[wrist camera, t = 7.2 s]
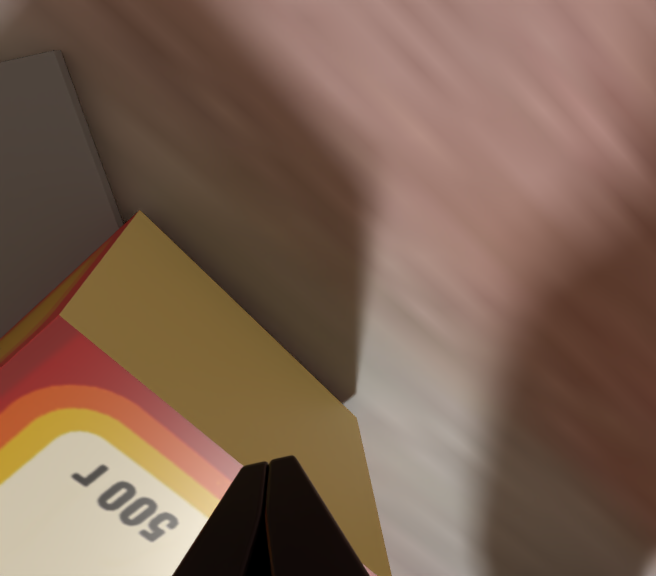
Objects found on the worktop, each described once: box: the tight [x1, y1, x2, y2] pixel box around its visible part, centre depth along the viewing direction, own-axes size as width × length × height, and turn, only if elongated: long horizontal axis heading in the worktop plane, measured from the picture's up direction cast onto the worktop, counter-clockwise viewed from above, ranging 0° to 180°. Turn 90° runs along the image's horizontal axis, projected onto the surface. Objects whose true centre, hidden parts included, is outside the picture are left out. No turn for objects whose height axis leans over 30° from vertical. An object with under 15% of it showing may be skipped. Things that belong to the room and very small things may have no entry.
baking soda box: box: [0, 210, 392, 576], centre depth 16 cm, size 10×6×16 cm
